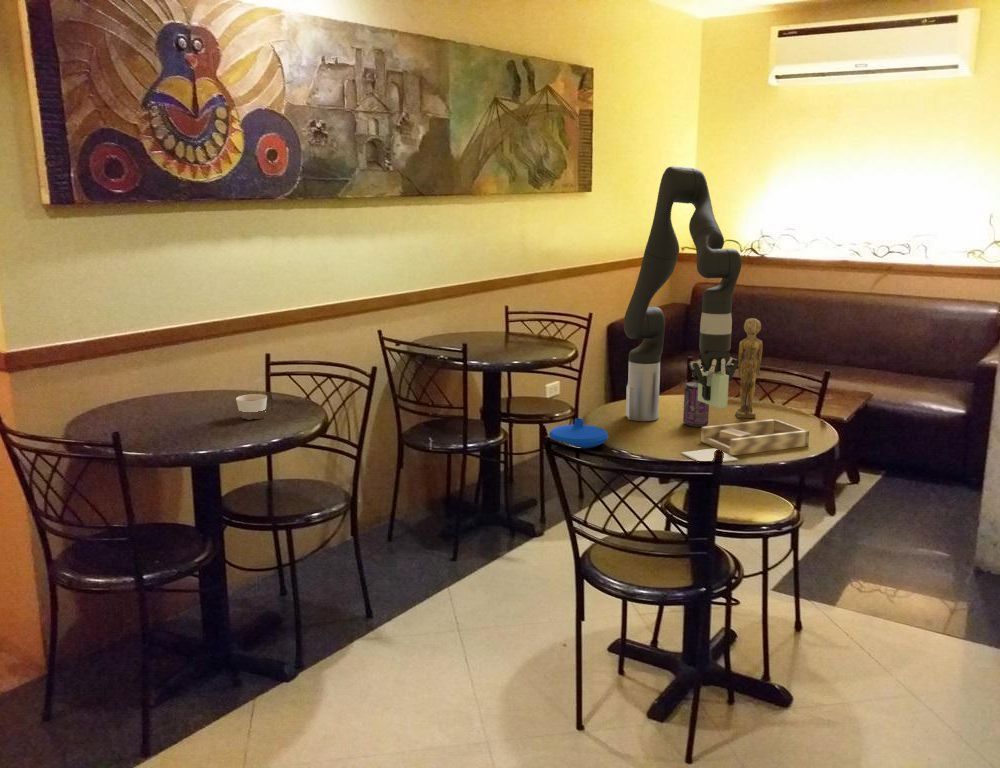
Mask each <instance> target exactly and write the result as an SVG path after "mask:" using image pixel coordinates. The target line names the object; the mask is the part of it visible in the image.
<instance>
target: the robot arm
mask: <svg viewBox="0 0 1000 768" xmlns="http://www.w3.org/2000/svg"><path fill="white" fill-rule="evenodd" d="M658 187H659V188H658V193H657V200H656V204H655V205H656V206H655V210H654V215H653V220H652V224H651V227H650V231H649V235H648V239H647V242H646V245H645V249H644V252H643V253H644V254H643V257H642V259H641V260H642V261H641V265H640V269H639V273H638V276H637V280H636V284H635V287H634V290H633V292H632V295H631V297H630V301H629V303H628V306H627V308H626V311H625V314H624V319H623V330H624V333H625V335H626V337H627V338H629V339H631V340H642V342H641V343H640V344H639V345H638V346H637V347H635V348H632V349H631V350H630V351H629V352H628V378H627V379H628V380H627V384H626V393H625V394H626V399H625V400H626V401H625V417H626V418H627V419H628V421H636V422H652V421H656V420H658V419H659V411H660V410H659V407H660V406H659V405H660V384H661V383H660V380H661V358H662V354H663V350H664V339H665V331H666V330H665V328H666V319H665V314H664V312H663V310H662V309H661V308H660V307H658V306H650V303H651V301H652V299H653V297H654V296H655V295H656V293H657V292H658V291H659V290H660V289H661V288H662V287H663V286H664V285H665V284H666V282H667V281H668V280H669V279H670V278H671V276H672V275H673V274H674V271H675V268H676V265H677V261H678V257H679V254H680V245H679V241H678V238H677V235H676V232H675V229H674V226H673V223H672V211H673V210H672V209H673V205H674V203H679V204H692V205H693V207H694V209H695V210H694V211H693V214H692V216H691V217H690V220H689V225H688V228H689V235H690V236H691V239H692V242H693V244H694V247H695V251H696V270H697V272H698V274H699V276H701V277H703V278H705V279H721V280H720V282H719V284H718V285H716V286H713V287H708V288H706V289H704V291H703V293H702V300H701V301H702V302H701V316H700V324H699V325H700V326H699V341H698V342H699V345H698V346H699V355H698V357H697V359H696V360H693V361H691V360H690V361H689V362H688V366H689V368H690V371H691V373H692V376H693V379H694V382H697V383H700V384H702V397H703V399H704V400H706V401H709V400H710V396H711V386H710V385H711V380H712V377H713V374H714V372H715V371H717V372H720V373H723V374H726V375H729V383H730V382H731V381H732V379H733V378H734V375H735V372H736V371H737V368H738V364H739V360H738V359H737V358H733V357H732V356H731V354H730V350H731V348H732V346H731V343H732V327H733V326H732V325H733V318H732V307H733V295H734V291H735V288H736V285H737V282H738V279H739V276H740V274H741V273H740V272H741V270H742V267H743V266H742V265H743V262H742V261H743V260H742V256H741V254H740V252H739V251H738V250H737V249H734V248H723V247H724V244H725V239H724V236H723V233H722V231H721V229H720V226H719V224H718V222H717V220H716V217H715V214H714V210H713V206H712V200H711V196H710V192H709V187H708V182H707V178H706V175H705V174H704V172H703V171H702V170H701V169H698V168H695V167H684V166H668V167H667V168H666V169H665V170H664V171H663V174H662V177H661V179H660V184H659V186H658ZM701 367H702V368H701ZM700 369H702V372H701V370H700ZM707 371H708V372H709V373H707Z"/></svg>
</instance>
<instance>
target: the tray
mask: <svg viewBox="0 0 1000 768" xmlns="http://www.w3.org/2000/svg"><path fill="white" fill-rule="evenodd" d="M730 428H732V429H736V430H739V431H743V432H747V433H750V434H751V437H743V438H735V439H730V446H728V445H725V444H723V443H721V442H719V441H718V438H719V436H720V431H721V430H726V429H730ZM700 434H701V435H700V442H702V443H704V444H705V445H708V446H711V447H713V448H715V449H717V450H720V451H721V450H723V451H722V452H724V453H726V454H728V455H731V456H738V455H746V454H747V455H748V454H753V453H754V454H755V453H761V452H770V451H771V452H772V451H778V450H784V449H785V450H786V449H792V448H794V449H795V448H801V447H809V443H810V442H809V441H810V430H807V429H804V428H802V427H799V426H796V425H794V424H791V423H787V422H785V421H782V420H780V419H777V418H771V419H761V420H753V421H752V420H751V421H744V422H736V423H735V422H734V423H733V422H732V423H726V424H725V423H723V424H717V425H716V424H715V425H705V426H701V433H700Z"/></svg>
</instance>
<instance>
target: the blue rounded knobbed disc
mask: <svg viewBox="0 0 1000 768" xmlns="http://www.w3.org/2000/svg"><path fill="white" fill-rule="evenodd" d="M548 435H549V438H551V439H553V440H556V441H561V442H565V443H570V444H573V445H575V446H579V447H582V448H583V449H591V448H596V447H598V446H600V445H602V444H604V443H606V442H607V441H608V438H609V433H608V432H607V431H606V430H605V429H604V428H602V427H599V426H596V425H590V424H584V419H583V418H575V419H574V424H566V425H565V424H564V425H560V426H556V427H554V428H552V429H551V430H550V432H549V434H548ZM551 439H550V440H551Z"/></svg>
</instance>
